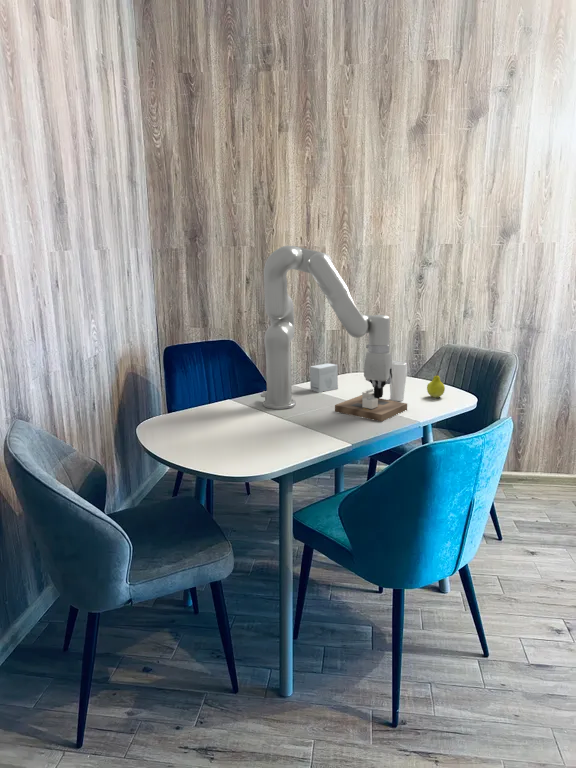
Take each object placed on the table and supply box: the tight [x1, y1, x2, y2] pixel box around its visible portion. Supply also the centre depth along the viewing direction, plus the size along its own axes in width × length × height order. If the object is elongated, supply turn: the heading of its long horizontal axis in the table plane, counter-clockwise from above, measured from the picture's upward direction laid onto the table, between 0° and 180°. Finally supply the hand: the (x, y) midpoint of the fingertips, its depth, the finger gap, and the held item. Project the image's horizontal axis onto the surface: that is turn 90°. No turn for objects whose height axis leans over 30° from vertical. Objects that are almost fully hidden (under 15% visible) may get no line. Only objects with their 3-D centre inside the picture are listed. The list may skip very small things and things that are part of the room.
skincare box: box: [309, 362, 339, 393], centre depth 240 cm, size 10×6×10 cm, turn 126°
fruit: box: [426, 368, 446, 399], centre depth 226 cm, size 7×7×12 cm
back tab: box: [361, 388, 374, 400], centre depth 214 cm, size 4×4×4 cm
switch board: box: [334, 394, 408, 422], centre depth 209 cm, size 20×18×2 cm
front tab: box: [362, 396, 378, 409], centre depth 204 cm, size 4×4×4 cm
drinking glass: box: [389, 360, 408, 402], centre depth 222 cm, size 7×7×15 cm
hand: (378, 397), depth 211 cm, fingers closed
